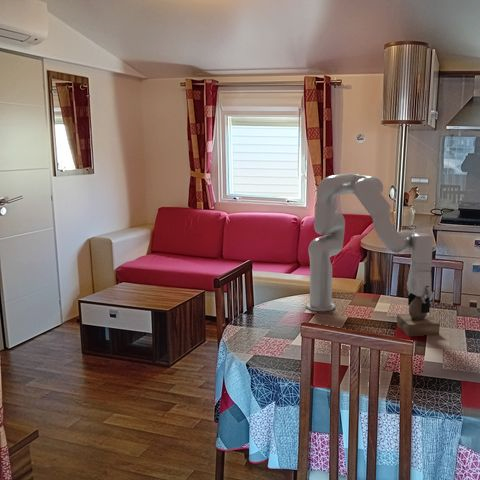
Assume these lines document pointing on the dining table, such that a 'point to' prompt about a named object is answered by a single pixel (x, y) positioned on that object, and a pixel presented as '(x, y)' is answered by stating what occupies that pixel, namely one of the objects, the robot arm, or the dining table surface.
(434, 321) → the walnut block
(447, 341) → the dining table surface
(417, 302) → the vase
